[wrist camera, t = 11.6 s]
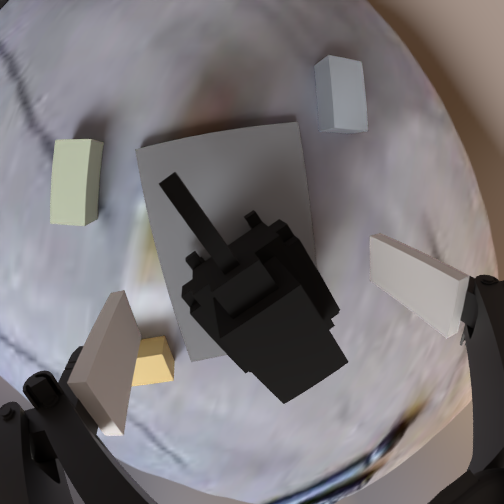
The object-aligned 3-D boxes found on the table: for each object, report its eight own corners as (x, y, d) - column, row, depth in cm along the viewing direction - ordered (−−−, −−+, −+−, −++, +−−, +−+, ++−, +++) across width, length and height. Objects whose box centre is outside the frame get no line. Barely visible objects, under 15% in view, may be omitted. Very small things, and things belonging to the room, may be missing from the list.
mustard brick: (118, 368, 24) (112, 388, 21) (106, 344, 23) (98, 363, 20) (174, 359, 25) (173, 380, 22) (164, 334, 24) (162, 354, 21)
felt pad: (138, 150, 19) (135, 149, 18) (292, 124, 21) (298, 121, 20) (191, 354, 25) (191, 362, 23) (315, 323, 26) (320, 330, 25)
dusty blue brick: (313, 66, 20) (328, 54, 17) (344, 71, 20) (361, 61, 17) (317, 131, 21) (334, 127, 19) (349, 134, 22) (368, 131, 19)
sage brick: (71, 142, 18) (55, 139, 15) (104, 142, 18) (91, 139, 16) (66, 216, 19) (50, 223, 17) (98, 218, 20) (84, 226, 17)
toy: (222, 145, 19) (247, 121, 10) (316, 292, 24) (380, 359, 14) (136, 206, 19) (87, 239, 10) (244, 341, 24) (273, 429, 14)
